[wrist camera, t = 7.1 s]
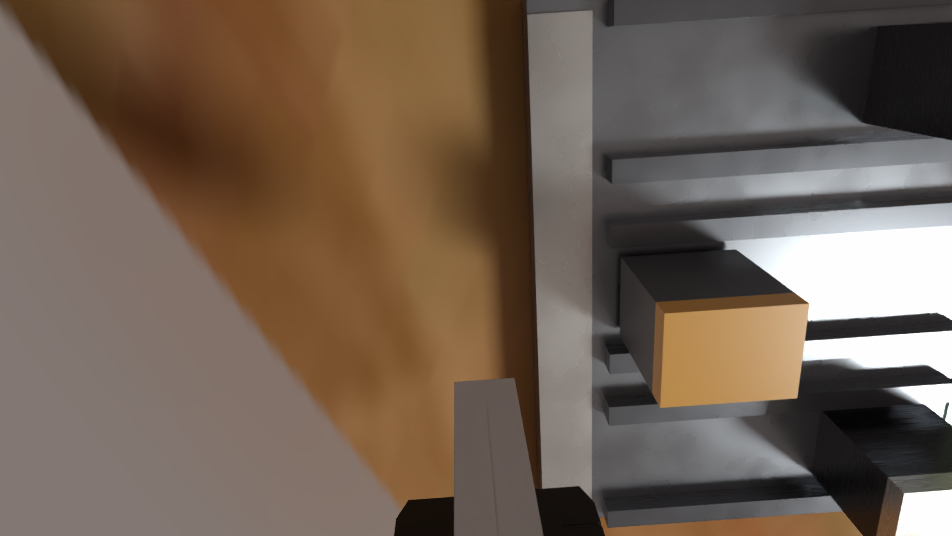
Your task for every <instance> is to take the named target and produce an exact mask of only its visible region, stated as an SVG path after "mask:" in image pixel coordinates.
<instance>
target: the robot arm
mask: <svg viewBox="0 0 952 536" xmlns="http://www.w3.org/2000/svg"><path fill="white" fill-rule="evenodd" d="M394 536H605V535H604V531H603V528H602V526H601V522H600V519H599V515H598V512H597V509H596V506H595V502H594V501H593V500H592V499H591V498H590V497H589V496H588V495H587V494H586V493H585V492H584V491H583V490H582V489H581V487H580V486H572V487H559V488H545V489H535V487H534V482H533V476H532V471H531V465H530V460H529V455H528V449H527V444H526V438H525V433H524V427H523V422H522V416H521V411H520V406H519V400H518V395H517V389H516V384H515V378H505V379H491V380H477V381H463V382H454V497H445V498H431V499H418V500H408V502H407V503H406V505H405V506H404V508H403V509H402V511H401V512H400V514H399V515H398V517H397V518H396V525H395V533H394Z"/></svg>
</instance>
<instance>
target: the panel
mask: <svg viewBox="0 0 952 536" xmlns="http://www.w3.org/2000/svg"><path fill="white" fill-rule="evenodd" d="M522 26H523V55H524V84H525V113H526V142H527V171H528V201H529V230H530V259H531V288H532V317H533V346H534V375H535V405H536V434H537V463H538V489H545V488H559V487H572V486H580V487H581V489H582V490H583V491H584V492H585V493H586V494H587V495H588V496H589V497H590V498H591V499H592V500H593V501H594V502H595V506H596V509H597V512H598V515H599V518H603V517H605V521H606V524H607V527H608V528H612V527H626V526H640V525H654V524H668V523H682V522H696V521H710V520H724V519H739V518H753V517H767V516H781V515H795V514H809V513H823V512H837V511H843V512H844V513H845V514H846V515H847V517H848V518H849V519H850V520H851V522H852V523H853V524H854V525H855V526H856V528H857V529H858V530H859V531H860V532H861V534H862V535H863V536H952V0H522ZM733 249H736V250H737V251H739V252H740V253H741V254H743V255H744V256H746V257H747V258H748V259H750V260H751V261H752V262H754V263H755V264H756V265H758V266H759V267H761V268H762V269H763V270H765V271H766V272H767V273H769V274H770V275H771V276H773V277H774V278H776V279H777V280H778V281H780V282H781V283H782V284H784V285H785V286H786V287H788V288H789V289H791V290H792V291H793V292H795V293H796V294H797V295H799V296H800V297H801V298H803V299H804V300H805V301H807V302H808V303H810V305H809V313H808V320H807V328H806V335H805V343H804V351H803V358H802V366H801V373H800V381H799V389H798V396H797V398H795V399H781V400H766V401H752V402H738V403H723V404H709V405H695V406H680V407H666V408H660V406H659V405H658V403H657V401H656V399H655V398H654V396H653V394H652V392H651V390H650V389H649V387H648V385H647V383H646V381H645V380H644V378H643V376H642V374H641V373H640V371H639V369H638V367H637V365H636V364H635V362H634V360H633V358H632V356H631V355H630V353H629V351H628V349H627V347H626V346H625V344H624V342H623V340H622V339H621V337H620V284H621V257H630V256H645V255H660V254H674V253H689V252H703V251H718V250H733Z"/></svg>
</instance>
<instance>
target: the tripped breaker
mask: <svg viewBox="0 0 952 536" xmlns="http://www.w3.org/2000/svg"><path fill="white" fill-rule="evenodd" d="M809 305H810V303H808V302H807V301H805V300H804V299H803V298H801V297H800V296H799V295H797V294H796V293H795V292H793V291H792V290H791V289H789V288H788V287H786V286H785V285H784V284H782V283H781V282H780V281H778V280H777V279H776V278H774V277H773V276H771V275H770V274H769V273H767V272H766V271H765V270H763V269H762V268H761V267H759V266H758V265H756V264H755V263H754V262H752V261H751V260H750V259H748V258H747V257H746V256H744V255H743V254H741V253H740V252H739V251H737V250H736V249H733V250H718V251H703V252H689V253H674V254H660V255H645V256H630V257H621V284H620V337H621V339H622V340H623V342H624V344H625V346H626V347H627V349H628V351H629V353H630V355H631V356H632V358H633V360H634V362H635V364H636V365H637V367H638V369H639V371H640V373H641V374H642V376H643V378H644V380H645V381H646V383H647V385H648V387H649V389H650V390H651V392H652V394H653V396H654V398H655V399H656V401H657V403H658V405H659V406H660V408H666V407H680V406H695V405H709V404H723V403H738V402H752V401H766V400H781V399H795V398H797V396H798V389H799V381H800V373H801V366H802V358H803V351H804V343H805V335H806V328H807V320H808V313H809Z"/></svg>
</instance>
